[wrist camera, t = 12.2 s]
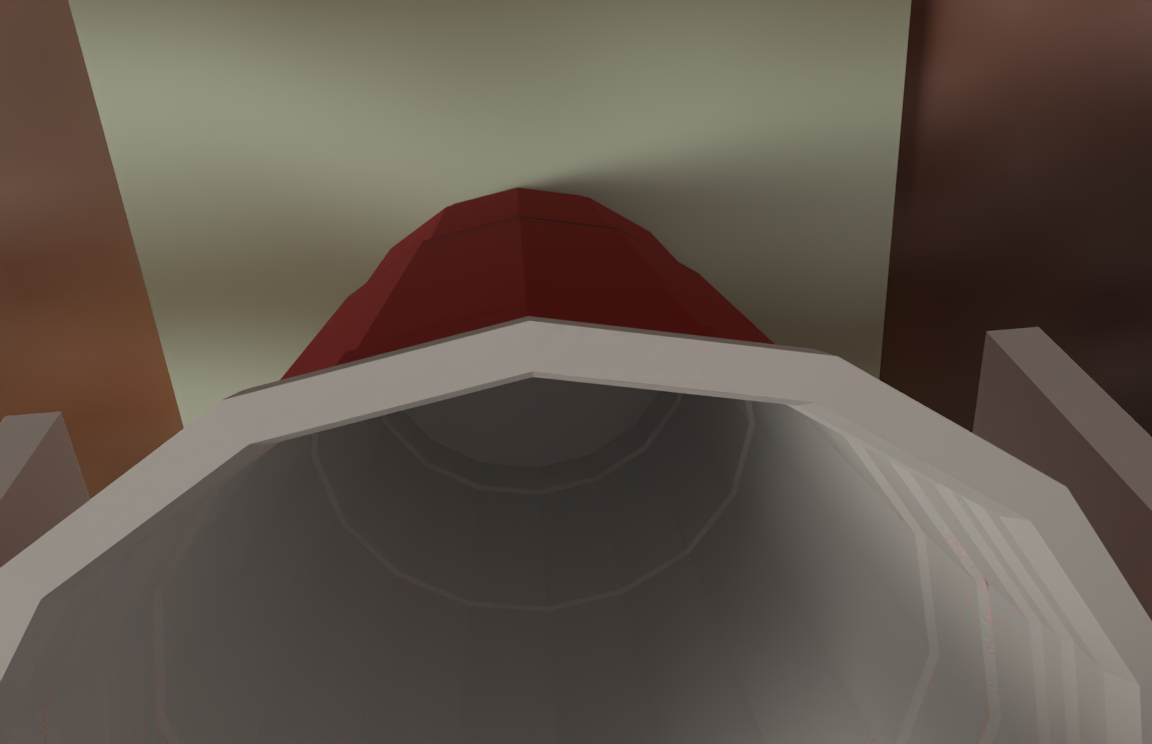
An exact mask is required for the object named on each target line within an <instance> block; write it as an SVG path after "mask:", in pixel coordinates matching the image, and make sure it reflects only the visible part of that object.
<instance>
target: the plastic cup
mask: <svg viewBox="0 0 1152 744" xmlns="http://www.w3.org/2000/svg"><path fill="white" fill-rule="evenodd" d="M0 744H1152V621H1151V619H1150V618H1149V616H1148V615H1147V613H1146V612H1145V610H1144V608H1143V607H1142V605H1141V604H1140V602H1139V600H1138V599H1137V597H1136V596H1135V594H1134V593H1133V591H1132V589H1131V588H1130V586H1129V585H1128V583H1127V581H1126V580H1125V578H1124V577H1123V575H1122V574H1121V572H1120V570H1119V569H1118V567H1117V566H1116V564H1115V562H1114V561H1113V559H1112V558H1111V556H1110V555H1109V553H1108V551H1107V550H1106V548H1105V547H1104V545H1103V543H1102V542H1101V540H1100V539H1099V537H1098V536H1097V534H1096V532H1095V531H1094V529H1093V528H1092V526H1091V524H1090V523H1089V521H1088V520H1087V518H1086V516H1085V515H1084V513H1083V512H1082V510H1081V509H1080V507H1079V505H1078V504H1077V502H1076V501H1075V499H1074V497H1073V496H1072V494H1071V493H1070V491H1069V490H1068V488H1067V487H1066V486H1064V485H1062V484H1061V483H1059V482H1057V481H1055V480H1054V479H1052V478H1050V477H1048V476H1047V475H1045V474H1043V473H1041V472H1040V471H1038V470H1036V469H1034V468H1033V467H1031V466H1029V465H1027V464H1026V463H1024V462H1022V461H1020V460H1019V459H1017V458H1015V457H1013V456H1012V455H1010V454H1008V453H1006V452H1005V451H1003V450H1001V449H999V448H998V447H996V446H994V445H992V444H991V443H989V442H987V441H985V440H984V439H982V438H980V437H978V436H977V435H975V434H973V433H971V432H970V431H968V430H966V429H964V428H963V427H961V426H959V425H957V424H956V423H954V422H952V421H950V420H949V419H947V418H945V417H943V416H942V415H940V414H938V413H936V412H935V411H933V410H931V409H929V408H928V407H926V406H924V405H922V404H920V403H919V402H917V401H915V400H913V399H912V398H910V397H908V396H906V395H905V394H903V393H901V392H899V391H898V390H896V389H894V388H892V387H891V386H889V385H887V384H885V383H884V382H882V381H880V380H878V379H877V378H875V377H873V376H871V375H870V374H868V373H866V372H864V371H863V370H861V369H859V368H857V367H856V366H854V365H852V364H850V363H849V362H847V361H845V360H843V359H842V358H840V357H838V356H835V355H832V354H829V353H826V352H822V351H819V350H816V349H810V348H801V347H793V346H784V345H775V344H774V343H773V342H772V341H771V340H770V339H769V338H768V337H767V336H766V335H765V334H764V333H763V332H761V331H760V330H759V329H758V328H757V327H756V326H755V325H754V324H753V323H752V322H751V321H750V320H749V319H747V318H746V317H745V316H744V315H743V314H742V313H741V312H740V311H739V310H738V309H737V308H736V307H735V306H733V305H732V304H731V303H730V302H729V301H728V300H727V299H726V298H725V297H724V296H723V295H722V294H721V293H719V292H718V291H717V290H716V289H715V288H714V287H713V286H712V285H711V284H710V283H709V282H708V281H707V280H705V279H704V278H703V277H702V276H701V275H700V274H699V273H697V272H696V271H694V270H692V269H690V268H688V267H687V266H685V265H683V264H681V263H679V262H678V261H677V260H676V259H675V258H674V257H673V256H672V255H671V254H670V252H669V251H668V250H667V249H666V248H665V247H664V246H663V245H662V244H661V243H660V242H659V241H658V240H657V239H656V238H655V237H654V235H653V234H652V233H651V232H650V231H648V230H646V229H644V228H643V227H641V226H639V225H637V224H635V223H634V222H632V221H630V220H628V219H627V218H625V217H623V216H621V215H619V214H618V213H616V212H614V211H612V210H611V209H609V208H607V207H605V206H604V205H602V204H600V203H598V202H596V201H595V200H593V199H591V198H589V197H583V196H580V195H572V194H564V193H556V192H548V191H540V190H532V189H524V188H513V189H510V190H506V191H502V192H498V193H494V194H490V195H486V196H482V197H479V198H475V199H471V200H467V201H463V202H459V203H455V204H453V205H451V206H447V207H445V208H444V209H443V210H441V211H440V212H439V213H437V214H436V215H435V216H433V217H432V218H431V219H429V220H428V221H427V222H425V223H424V224H423V225H421V226H420V227H419V228H417V229H416V230H415V231H413V232H412V233H411V234H409V235H408V236H407V237H405V238H404V239H403V240H401V241H400V242H399V243H397V244H396V245H395V246H393V247H392V248H391V249H390V250H389V251H388V253H387V254H386V256H385V257H384V258H383V260H382V261H381V263H380V264H379V266H378V267H377V268H376V270H375V271H374V273H373V274H372V275H371V277H370V278H369V280H368V281H367V282H366V284H364V285H363V286H362V287H360V288H359V289H358V290H356V291H355V292H354V293H352V294H351V295H349V296H348V297H347V298H346V299H345V301H344V302H343V303H342V304H341V306H340V307H339V308H338V309H337V310H336V312H335V313H334V314H333V315H332V317H331V318H330V319H329V320H328V321H327V323H326V324H325V325H324V326H323V328H322V329H321V330H320V331H319V333H318V334H317V335H316V336H315V337H314V339H313V340H312V341H311V342H310V344H309V345H308V346H307V347H306V348H305V350H304V351H303V352H302V353H301V355H300V356H299V357H298V358H297V360H296V361H295V362H294V363H293V364H292V366H291V367H290V368H289V369H288V371H287V372H286V373H285V374H284V375H283V377H282V378H281V379H280V380H279V381H275V382H271V383H268V384H264V385H260V386H256V387H252V388H248V389H244V390H242V391H240V392H238V393H236V394H233V395H231V396H229V397H227V398H225V399H223V400H221V401H220V402H218V403H217V404H216V405H214V406H213V407H212V408H210V409H209V410H208V411H206V412H205V413H204V414H202V415H201V416H200V417H198V418H197V419H196V420H194V421H193V422H192V423H191V424H189V425H188V426H187V427H185V428H184V429H183V430H181V431H180V432H179V433H177V434H176V435H175V436H173V437H172V438H171V439H169V440H168V441H167V442H165V443H164V444H163V445H162V446H160V447H159V448H158V449H156V450H155V451H154V452H152V453H151V454H150V455H148V456H147V457H146V458H144V459H143V460H142V461H140V462H139V463H138V464H136V465H135V466H134V467H133V468H131V469H130V470H129V471H127V472H126V473H125V474H123V475H122V476H121V477H119V478H118V479H117V480H115V481H114V482H113V483H111V484H110V485H109V486H108V487H106V488H105V489H104V490H102V491H101V492H100V493H98V494H97V495H96V496H94V497H93V498H92V499H90V500H89V501H88V502H86V503H85V504H84V505H82V506H81V507H80V508H79V509H77V510H76V511H75V512H73V513H72V514H71V515H69V516H68V517H67V518H65V519H64V520H63V521H61V522H60V523H59V524H57V525H56V526H55V527H53V528H52V529H51V530H50V531H48V532H47V533H46V534H44V535H43V536H42V537H40V538H39V539H38V540H36V541H35V542H34V543H32V544H31V545H30V546H28V547H27V548H26V549H24V550H23V551H22V552H21V553H19V554H18V555H17V556H15V557H14V558H13V559H11V560H10V561H9V562H7V563H6V564H5V565H3V566H2V567H1V568H0Z"/></svg>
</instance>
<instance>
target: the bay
mask: <svg viewBox="0 0 1152 744" xmlns="http://www.w3.org/2000/svg"><path fill="white" fill-rule="evenodd" d="M68 1H69V5H70V8H71V12H72V16H73V19H74V23H75V27H76V30H77V34H78V38H79V42H80V45H81V49H82V53H83V56H84V60H85V64H86V67H87V71H88V75H89V79H90V82H91V86H92V90H93V93H94V97H95V101H96V104H97V108H98V112H99V116H100V119H101V123H102V127H103V130H104V134H105V138H106V141H107V145H108V149H109V153H110V156H111V160H112V164H113V167H114V171H115V175H116V178H117V182H118V186H119V190H120V193H121V197H122V201H123V204H124V208H125V212H126V215H127V219H128V223H129V226H130V230H131V234H132V238H133V241H134V245H135V249H136V252H137V256H138V260H139V263H140V267H141V271H142V275H143V278H144V282H145V286H146V289H147V293H148V297H149V300H150V304H151V308H152V312H153V315H154V319H155V323H156V326H157V330H158V334H159V337H160V341H161V345H162V349H163V352H164V356H165V360H166V363H167V367H168V371H169V374H170V378H171V382H172V386H173V389H174V393H175V397H176V400H177V404H178V408H179V411H180V415H181V419H182V423H183V426H184V428H185V427H187V426H188V425H189V424H191V423H192V422H193V421H194V420H196V419H197V418H198V417H200V416H201V415H202V414H204V413H205V412H206V411H208V410H209V409H210V408H212V407H213V406H214V405H216V404H217V403H218V402H220V401H221V400H223V399H225V398H227V397H229V396H231V395H233V394H236V393H238V392H240V391H242V390H244V389H248V388H252V387H256V386H260V385H264V384H268V383H271V382H275V381H279V380H280V379H281V378H282V377H283V375H284V374H285V373H286V372H287V371H288V369H289V368H290V367H291V366H292V364H293V363H294V362H295V361H296V360H297V358H298V357H299V356H300V355H301V353H302V352H303V351H304V350H305V348H306V347H307V346H308V345H309V344H310V342H311V341H312V340H313V339H314V337H315V336H316V335H317V334H318V333H319V331H320V330H321V329H322V328H323V326H324V325H325V324H326V323H327V321H328V320H329V319H330V318H331V317H332V315H333V314H334V313H335V312H336V310H337V309H338V308H339V307H340V306H341V304H342V303H343V302H344V301H345V299H346V298H347V297H348V296H349V295H351V294H352V293H354V292H355V291H356V290H358V289H359V288H360V287H362V286H363V285H364V284H366V282H367V281H368V280H369V278H370V277H371V275H372V274H373V273H374V271H375V270H376V268H377V267H378V266H379V264H380V263H381V261H382V260H383V258H384V257H385V256H386V254H387V253H388V251H389V250H390V249H391V248H392V247H393V246H395V245H396V244H397V243H399V242H400V241H401V240H403V239H404V238H405V237H407V236H408V235H409V234H411V233H412V232H413V231H415V230H416V229H417V228H419V227H420V226H421V225H423V224H424V223H425V222H427V221H428V220H429V219H431V218H432V217H433V216H435V215H436V214H437V213H439V212H440V211H441V210H443V209H444V208H445V207H447V206H451V205H453V204H455V203H459V202H463V201H467V200H471V199H475V198H479V197H482V196H486V195H490V194H494V193H498V192H502V191H506V190H510V189H513V188H524V189H532V190H540V191H548V192H556V193H564V194H572V195H580V196H583V197H589V198H591V199H593V200H595V201H596V202H598V203H600V204H602V205H604V206H605V207H607V208H609V209H611V210H612V211H614V212H616V213H618V214H619V215H621V216H623V217H625V218H627V219H628V220H630V221H632V222H634V223H635V224H637V225H639V226H641V227H643V228H644V229H646V230H648V231H650V232H651V233H652V234H653V235H654V237H655V238H656V239H657V240H658V241H659V242H660V243H661V244H662V245H663V246H664V247H665V248H666V249H667V250H668V251H669V252H670V254H671V255H672V256H673V257H674V258H675V259H676V260H677V261H678V262H679V263H681V264H683V265H685V266H687V267H688V268H690V269H692V270H694V271H696V272H697V273H699V274H700V275H701V276H702V277H703V278H704V279H705V280H707V281H708V282H709V283H710V284H711V285H712V286H713V287H714V288H715V289H716V290H717V291H718V292H719V293H721V294H722V295H723V296H724V297H725V298H726V299H727V300H728V301H729V302H730V303H731V304H732V305H733V306H735V307H736V308H737V309H738V310H739V311H740V312H741V313H742V314H743V315H744V316H745V317H746V318H747V319H749V320H750V321H751V322H752V323H753V324H754V325H755V326H756V327H757V328H758V329H759V330H760V331H761V332H763V333H764V334H765V335H766V336H767V337H768V338H769V339H770V340H771V341H772V342H773V343H774V344H775V345H784V346H793V347H801V348H810V349H816V350H819V351H822V352H826V353H829V354H832V355H835V356H838V357H840V358H842V359H843V360H845V361H847V362H849V363H850V364H852V365H854V366H856V367H857V368H859V369H861V370H863V371H864V372H866V373H868V374H870V375H871V376H873V377H875V378H877V379H878V380H879V376H880V365H881V353H882V341H883V329H884V318H885V306H886V294H887V282H888V271H889V259H890V247H891V235H892V224H893V212H894V200H895V188H896V176H897V165H898V153H899V141H900V129H901V118H902V106H903V94H904V82H905V71H906V59H907V47H908V35H909V24H910V12H911V0H68Z"/></svg>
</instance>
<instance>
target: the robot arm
mask: <svg viewBox="0 0 1152 744" xmlns="http://www.w3.org/2000/svg"><path fill="white" fill-rule="evenodd" d="M972 433H973V434H975V435H977V436H978V437H980V438H982V439H984V440H985V441H987V442H989V443H991V444H992V445H994V446H996V447H998V448H999V449H1001V450H1003V451H1005V452H1006V453H1008V454H1010V455H1012V456H1013V457H1015V458H1017V459H1019V460H1020V461H1022V462H1024V463H1026V464H1027V465H1029V466H1031V467H1033V468H1034V469H1036V470H1038V471H1040V472H1041V473H1043V474H1045V475H1047V476H1048V477H1050V478H1052V479H1054V480H1055V481H1057V482H1059V483H1061V484H1062V485H1064V486H1066V487H1067V488H1068V490H1069V491H1070V493H1071V494H1072V496H1073V497H1074V499H1075V501H1076V502H1077V504H1078V505H1079V507H1080V509H1081V510H1082V512H1083V513H1084V515H1085V516H1086V518H1087V520H1088V521H1089V523H1090V524H1091V526H1092V528H1093V529H1094V531H1095V532H1096V534H1097V536H1098V537H1099V539H1100V540H1101V542H1102V543H1103V545H1104V547H1105V548H1106V550H1107V551H1108V553H1109V555H1110V556H1111V558H1112V559H1113V561H1114V562H1115V564H1116V566H1117V567H1118V569H1119V570H1120V572H1121V574H1122V575H1123V577H1124V578H1125V580H1126V581H1127V583H1128V585H1129V586H1130V588H1131V589H1132V591H1133V593H1134V594H1135V596H1136V597H1137V599H1138V600H1139V602H1140V604H1141V605H1142V607H1143V608H1144V610H1145V612H1146V613H1147V615H1148V616H1149V618H1150V619H1151V621H1152V437H1151V436H1150V435H1149V434H1148V433H1147V432H1146V431H1145V430H1144V429H1143V428H1142V427H1141V426H1140V425H1139V424H1138V423H1137V422H1136V421H1135V420H1134V419H1133V418H1132V417H1131V416H1130V415H1129V414H1127V413H1126V412H1125V411H1124V410H1123V409H1122V408H1121V407H1120V406H1119V405H1118V404H1117V403H1116V402H1115V401H1114V400H1113V399H1112V398H1111V397H1110V396H1109V395H1108V394H1107V393H1106V392H1105V391H1104V390H1103V389H1102V388H1101V387H1100V386H1099V385H1098V384H1097V383H1096V382H1095V381H1094V380H1093V379H1092V378H1091V377H1090V376H1088V375H1087V374H1086V373H1085V372H1084V371H1083V370H1082V369H1081V368H1080V367H1079V366H1078V365H1077V364H1076V363H1075V362H1074V361H1073V360H1072V359H1071V358H1070V357H1069V356H1068V355H1067V354H1066V353H1065V352H1064V351H1063V350H1062V349H1061V348H1060V347H1059V346H1058V345H1057V344H1056V343H1055V342H1054V341H1053V340H1052V339H1051V338H1050V337H1048V336H1047V335H1046V334H1045V333H1044V332H1043V331H1042V330H1041V329H1040V328H1039V327H1030V328H1018V329H1007V330H995V331H986V337H985V344H984V352H983V359H982V366H981V374H980V381H979V388H978V396H977V403H976V410H975V418H974V425H973V432H972ZM89 500H90V497H89V494H88V491H87V488H86V485H85V482H84V479H83V476H82V473H81V470H80V467H79V464H78V461H77V458H76V455H75V452H74V449H73V446H72V443H71V440H70V437H69V434H68V431H67V428H66V425H65V422H64V419H63V416H62V413H61V411H60V412H49V413H37V414H26V415H14V416H5V417H4V419H3V420H2V421H1V423H0V568H1V567H2V566H3V565H5V564H6V563H7V562H9V561H10V560H11V559H13V558H14V557H15V556H17V555H18V554H19V553H21V552H22V551H23V550H24V549H26V548H27V547H28V546H30V545H31V544H32V543H34V542H35V541H36V540H38V539H39V538H40V537H42V536H43V535H44V534H46V533H47V532H48V531H50V530H51V529H52V528H53V527H55V526H56V525H57V524H59V523H60V522H61V521H63V520H64V519H65V518H67V517H68V516H69V515H71V514H72V513H73V512H75V511H76V510H77V509H79V508H80V507H81V506H82V505H84V504H85V503H86V502H88V501H89Z"/></svg>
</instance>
